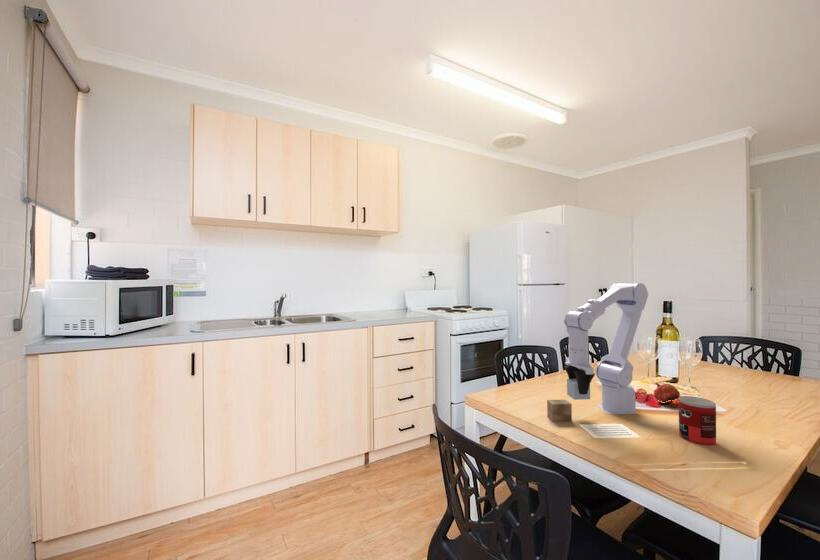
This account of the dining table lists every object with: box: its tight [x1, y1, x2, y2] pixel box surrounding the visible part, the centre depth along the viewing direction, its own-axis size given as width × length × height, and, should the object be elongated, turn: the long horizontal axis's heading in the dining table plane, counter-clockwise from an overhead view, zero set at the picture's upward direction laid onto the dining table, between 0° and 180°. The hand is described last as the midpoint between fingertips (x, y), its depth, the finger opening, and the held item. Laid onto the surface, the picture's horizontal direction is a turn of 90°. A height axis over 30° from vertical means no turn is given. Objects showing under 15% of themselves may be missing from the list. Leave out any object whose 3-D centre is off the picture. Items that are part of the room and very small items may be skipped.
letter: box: [579, 423, 641, 439], centre depth 103 cm, size 13×9×1 cm
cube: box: [566, 378, 591, 401], centre depth 112 cm, size 5×5×5 cm
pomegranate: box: [653, 382, 681, 403], centre depth 124 cm, size 7×7×10 cm
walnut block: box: [546, 399, 573, 423], centre depth 111 cm, size 6×4×6 cm, turn 91°
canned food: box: [678, 395, 717, 446], centre depth 97 cm, size 8×8×11 cm
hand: (578, 391), depth 112 cm, fingers closed on cube, 5 cm apart
